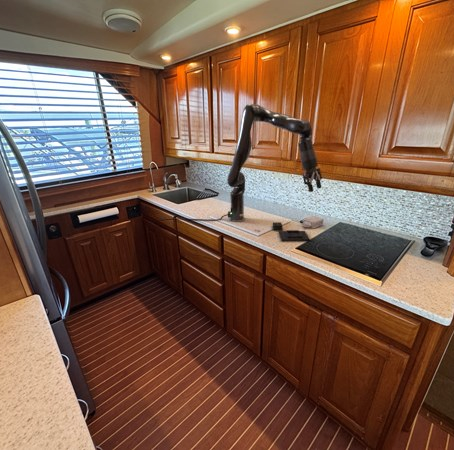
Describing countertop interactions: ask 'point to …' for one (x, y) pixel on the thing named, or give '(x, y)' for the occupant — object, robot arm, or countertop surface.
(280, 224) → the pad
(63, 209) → the countertop surface
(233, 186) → the robot arm
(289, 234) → the base pad
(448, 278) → the countertop surface
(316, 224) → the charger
